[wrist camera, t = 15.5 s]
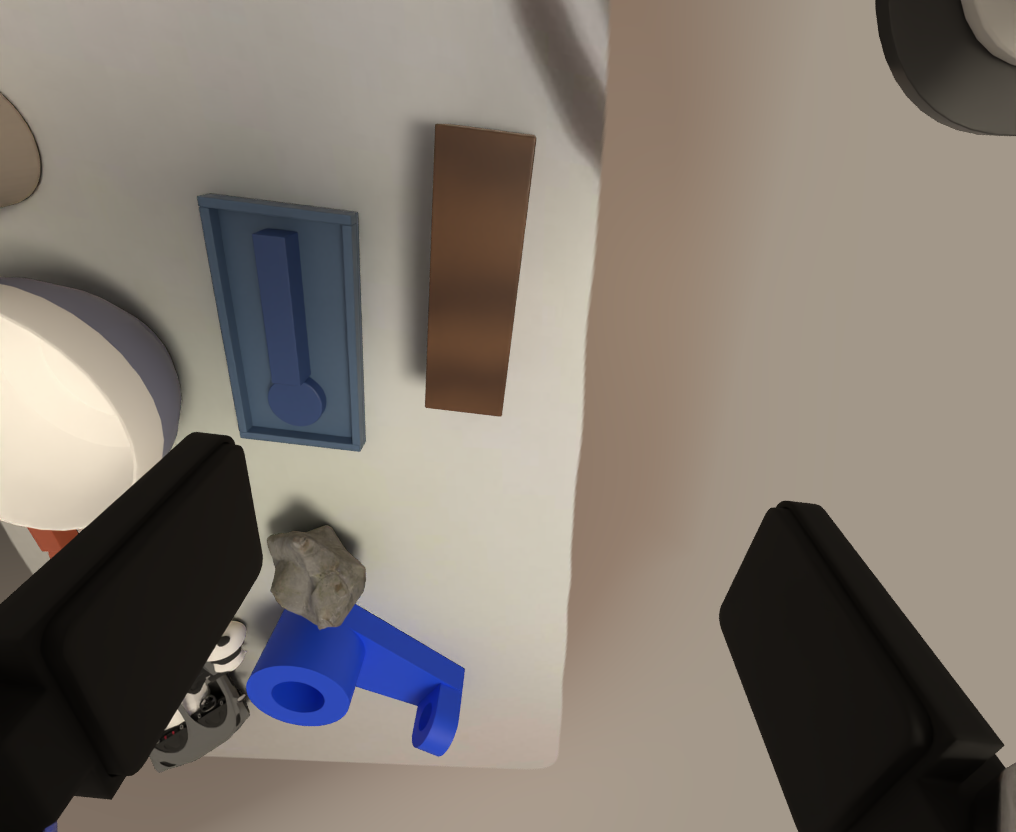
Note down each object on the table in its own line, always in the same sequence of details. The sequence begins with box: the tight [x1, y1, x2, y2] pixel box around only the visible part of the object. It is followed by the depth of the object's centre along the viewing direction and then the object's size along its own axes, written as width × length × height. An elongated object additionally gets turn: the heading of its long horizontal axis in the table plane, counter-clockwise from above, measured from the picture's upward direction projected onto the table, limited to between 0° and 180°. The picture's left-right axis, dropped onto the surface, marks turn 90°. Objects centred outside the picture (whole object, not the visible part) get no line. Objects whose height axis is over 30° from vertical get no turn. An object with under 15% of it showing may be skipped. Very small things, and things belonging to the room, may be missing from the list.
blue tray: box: [197, 193, 366, 452], centre depth 35 cm, size 17×9×2 cm, turn 173°
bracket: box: [246, 604, 465, 756], centre depth 49 cm, size 20×9×8 cm, turn 55°
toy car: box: [149, 621, 250, 773], centre depth 53 cm, size 18×13×9 cm
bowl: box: [0, 277, 182, 531], centre depth 33 cm, size 16×16×10 cm
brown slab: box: [425, 124, 536, 416], centre depth 31 cm, size 16×5×5 cm, turn 174°
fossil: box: [267, 525, 366, 630], centre depth 42 cm, size 11×9×8 cm
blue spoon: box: [252, 228, 327, 426], centre depth 34 cm, size 14×4×2 cm, turn 174°
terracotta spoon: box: [27, 527, 78, 559], centre depth 44 cm, size 14×4×2 cm, turn 0°
